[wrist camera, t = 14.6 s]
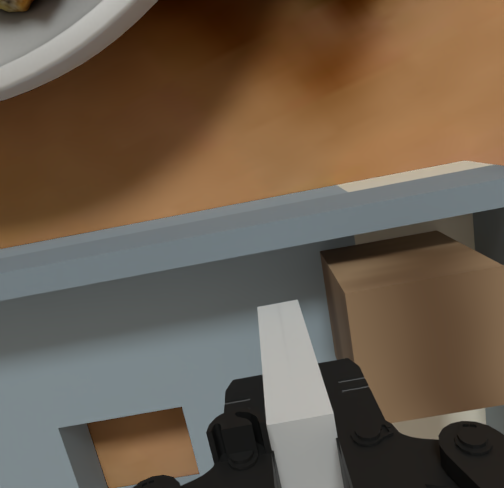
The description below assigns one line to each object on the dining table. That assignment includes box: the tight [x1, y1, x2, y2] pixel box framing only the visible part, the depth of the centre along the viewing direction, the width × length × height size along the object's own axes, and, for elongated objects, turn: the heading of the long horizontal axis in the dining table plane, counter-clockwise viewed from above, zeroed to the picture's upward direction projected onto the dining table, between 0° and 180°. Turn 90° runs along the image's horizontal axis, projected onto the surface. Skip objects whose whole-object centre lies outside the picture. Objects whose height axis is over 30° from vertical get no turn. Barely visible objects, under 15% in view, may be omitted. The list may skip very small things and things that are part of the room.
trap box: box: [0, 161, 504, 488], centre depth 20 cm, size 28×16×6 cm, turn 101°
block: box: [320, 230, 504, 423], centre depth 17 cm, size 5×5×5 cm
